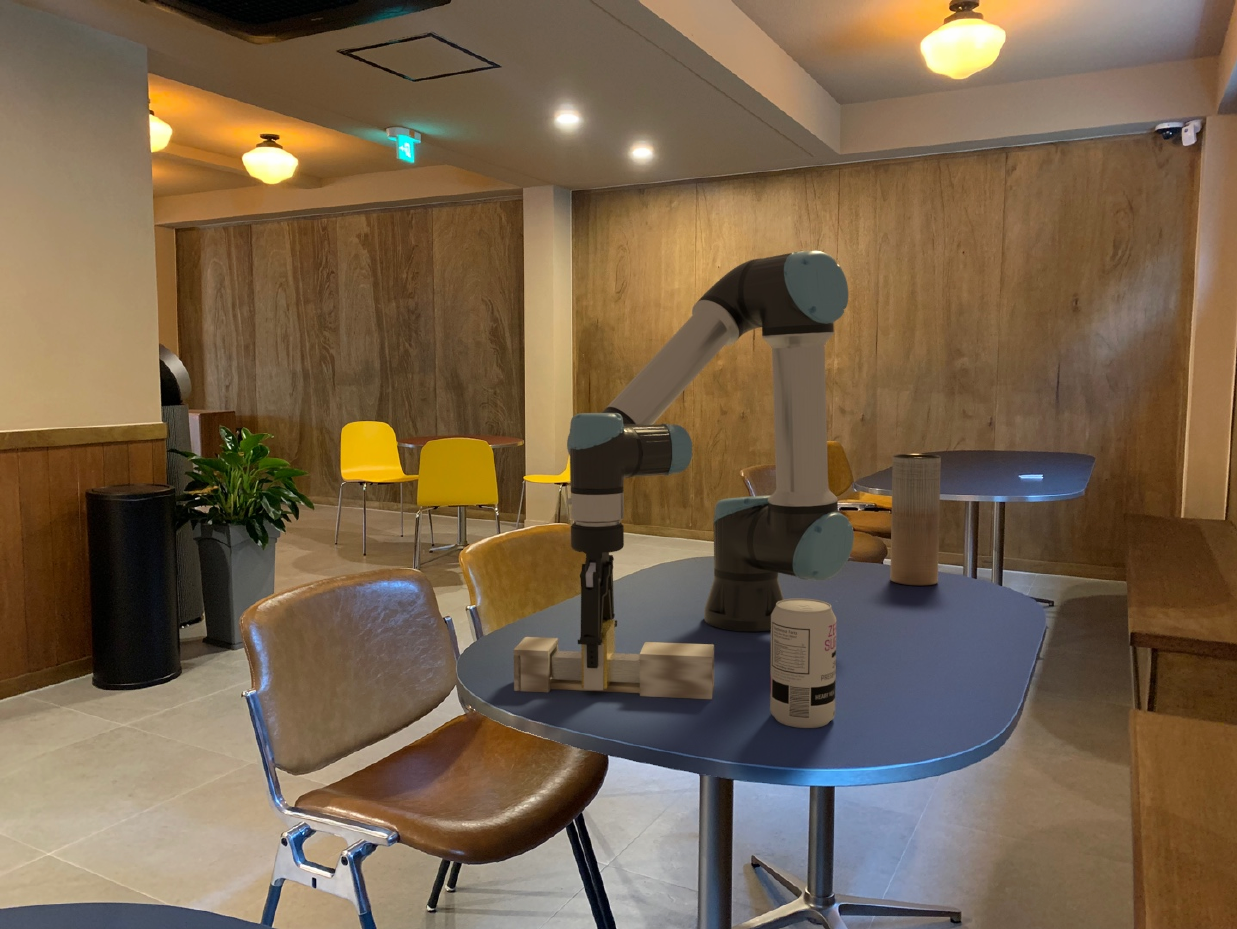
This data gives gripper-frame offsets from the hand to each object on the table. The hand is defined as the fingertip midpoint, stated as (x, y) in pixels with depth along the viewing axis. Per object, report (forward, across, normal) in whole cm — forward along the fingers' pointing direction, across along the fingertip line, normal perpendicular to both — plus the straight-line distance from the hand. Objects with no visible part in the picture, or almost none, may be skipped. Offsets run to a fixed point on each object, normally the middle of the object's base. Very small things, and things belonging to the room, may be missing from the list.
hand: (598, 679), depth 130 cm
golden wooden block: (0, 0, +3) cm, 3 cm away
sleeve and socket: (+1, 0, +2) cm, 3 cm away
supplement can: (+1, +9, +28) cm, 30 cm away
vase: (+1, -78, +57) cm, 97 cm away
